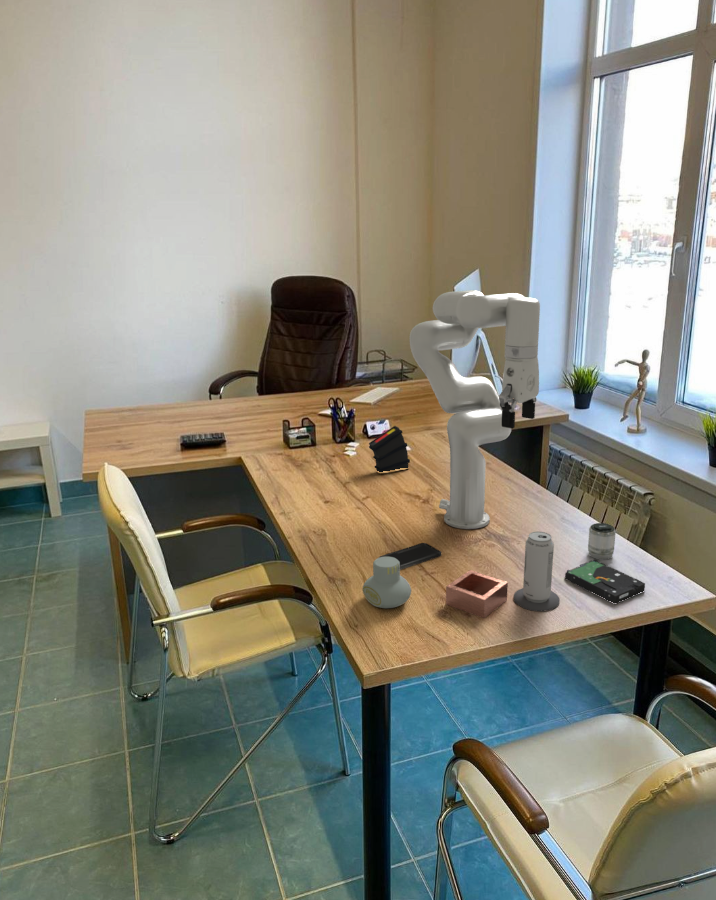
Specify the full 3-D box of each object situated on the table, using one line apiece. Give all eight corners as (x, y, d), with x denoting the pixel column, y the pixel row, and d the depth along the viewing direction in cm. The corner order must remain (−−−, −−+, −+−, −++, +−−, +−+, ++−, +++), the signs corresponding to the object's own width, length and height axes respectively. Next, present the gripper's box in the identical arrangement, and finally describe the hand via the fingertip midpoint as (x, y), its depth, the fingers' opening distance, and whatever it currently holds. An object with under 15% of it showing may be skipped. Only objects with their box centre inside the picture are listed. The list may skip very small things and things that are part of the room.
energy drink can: (523, 589, 175) (527, 529, 170) (551, 592, 173) (555, 531, 168) (521, 602, 169) (524, 540, 165) (549, 605, 168) (553, 543, 163)
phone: (443, 552, 193) (394, 568, 186) (443, 556, 194) (394, 572, 186) (424, 541, 200) (376, 556, 192) (424, 545, 200) (376, 561, 192)
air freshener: (358, 598, 174) (356, 558, 171) (386, 587, 179) (386, 548, 175) (387, 617, 166) (386, 576, 162) (416, 606, 170) (416, 565, 167)
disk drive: (645, 593, 174) (593, 568, 186) (646, 582, 173) (594, 558, 185) (614, 607, 169) (563, 580, 180) (616, 596, 168) (564, 569, 179)
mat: (505, 601, 171) (505, 599, 171) (527, 584, 178) (527, 582, 178) (546, 616, 164) (546, 614, 164) (567, 597, 172) (567, 595, 172)
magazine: (418, 463, 255) (400, 427, 248) (386, 485, 252) (367, 449, 245) (412, 460, 258) (395, 424, 251) (381, 482, 255) (362, 446, 248)
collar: (445, 604, 170) (446, 586, 169) (469, 587, 177) (470, 569, 176) (484, 618, 164) (484, 599, 163) (507, 600, 171) (507, 582, 170)
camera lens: (618, 559, 189) (620, 530, 187) (594, 561, 188) (596, 532, 186) (606, 548, 195) (608, 519, 193) (583, 550, 194) (585, 522, 192)
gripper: (517, 360, 169) (514, 434, 175) (553, 347, 182) (549, 416, 187) (487, 356, 174) (485, 428, 179) (524, 344, 186) (521, 412, 192)
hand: (518, 422), depth 183 cm, fingers open, 9 cm apart
